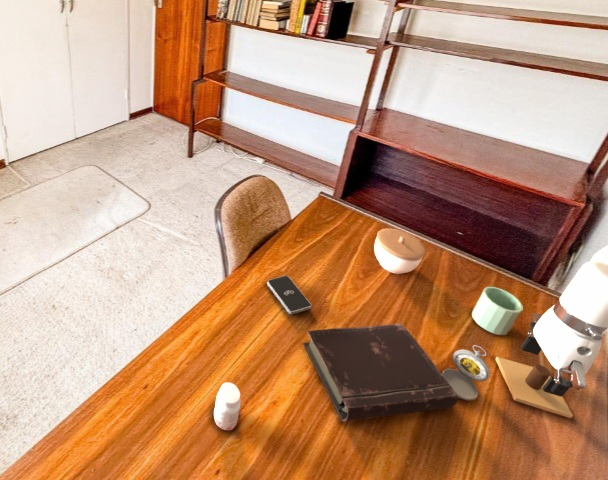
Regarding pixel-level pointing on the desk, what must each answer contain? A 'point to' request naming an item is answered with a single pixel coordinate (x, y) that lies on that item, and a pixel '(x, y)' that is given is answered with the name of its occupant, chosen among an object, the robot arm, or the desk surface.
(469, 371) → the pocket watch
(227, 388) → the pill bottle
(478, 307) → the cup
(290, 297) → the external hard drive
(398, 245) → the lidded bowl
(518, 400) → the square peg board
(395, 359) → the diary
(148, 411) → the desk surface
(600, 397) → the desk surface
